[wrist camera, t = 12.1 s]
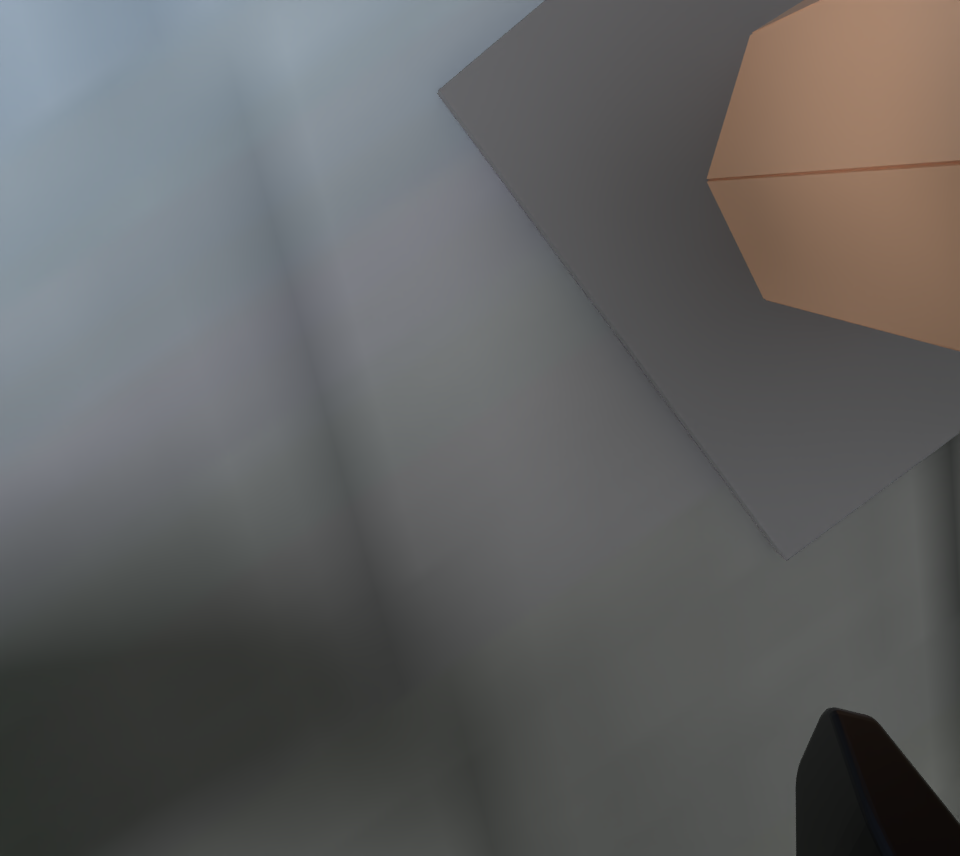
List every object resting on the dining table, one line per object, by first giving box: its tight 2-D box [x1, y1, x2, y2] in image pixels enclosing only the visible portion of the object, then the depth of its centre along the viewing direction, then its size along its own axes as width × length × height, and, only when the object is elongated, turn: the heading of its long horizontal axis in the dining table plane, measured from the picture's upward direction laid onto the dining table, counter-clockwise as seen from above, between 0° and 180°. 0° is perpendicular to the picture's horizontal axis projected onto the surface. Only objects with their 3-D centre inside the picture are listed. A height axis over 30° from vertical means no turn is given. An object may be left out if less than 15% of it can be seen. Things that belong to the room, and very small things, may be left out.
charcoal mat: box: [437, 0, 960, 560], centre depth 19 cm, size 14×14×1 cm
